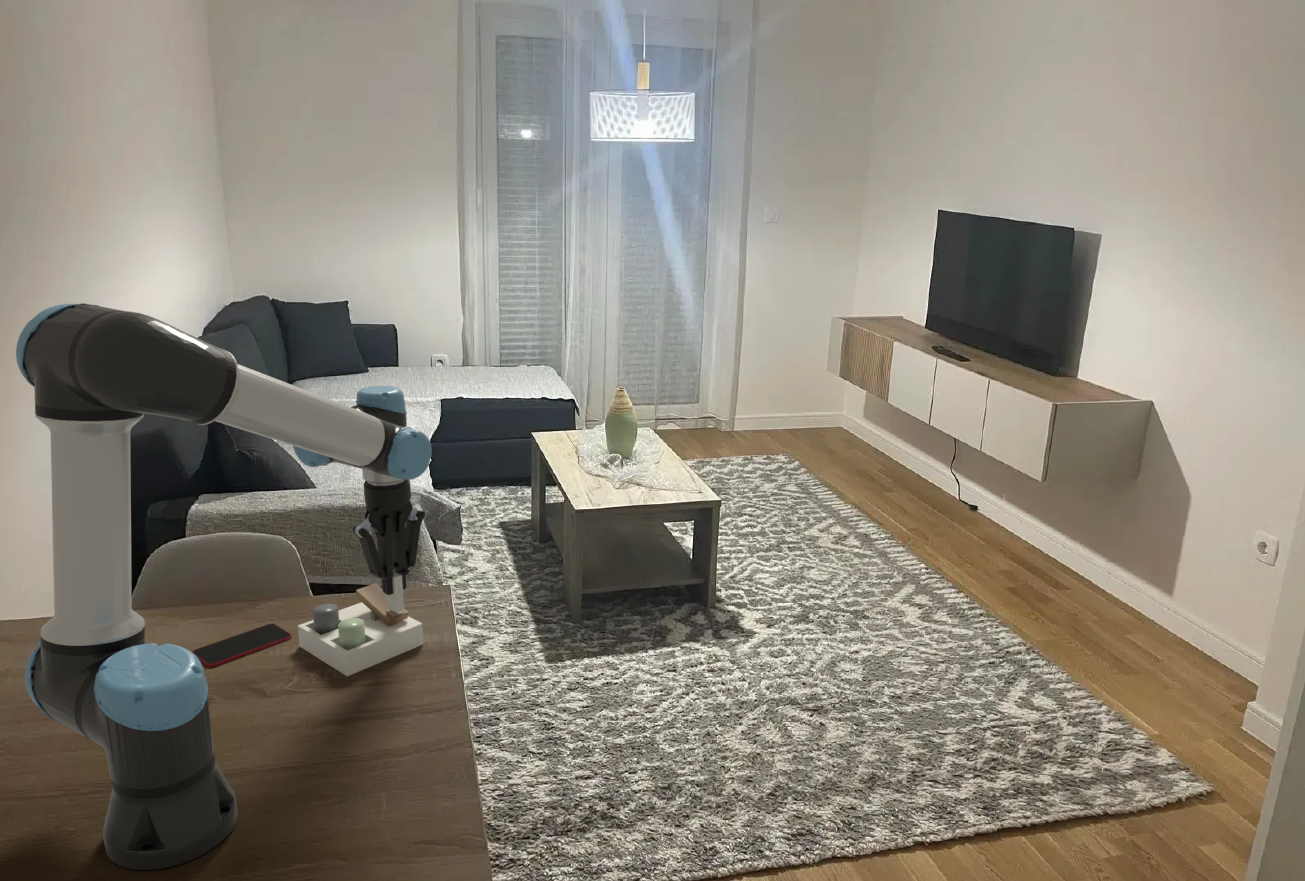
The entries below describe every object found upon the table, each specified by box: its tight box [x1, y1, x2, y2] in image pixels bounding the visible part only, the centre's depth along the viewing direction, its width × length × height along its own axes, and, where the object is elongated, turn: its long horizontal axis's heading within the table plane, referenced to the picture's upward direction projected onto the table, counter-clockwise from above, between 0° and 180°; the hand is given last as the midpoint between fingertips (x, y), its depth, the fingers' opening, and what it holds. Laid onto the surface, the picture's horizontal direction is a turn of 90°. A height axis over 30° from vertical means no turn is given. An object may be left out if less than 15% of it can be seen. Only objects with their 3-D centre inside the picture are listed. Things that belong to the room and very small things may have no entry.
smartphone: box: [191, 623, 293, 668], centre depth 170 cm, size 7×1×15 cm
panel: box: [297, 601, 424, 677], centre depth 170 cm, size 15×15×5 cm
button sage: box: [338, 618, 366, 651], centre depth 164 cm, size 4×4×4 cm
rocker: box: [355, 582, 409, 626], centre depth 172 cm, size 4×10×2 cm, turn 48°
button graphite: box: [312, 603, 340, 635], centre depth 169 cm, size 4×4×4 cm
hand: (395, 608), depth 169 cm, fingers closed
